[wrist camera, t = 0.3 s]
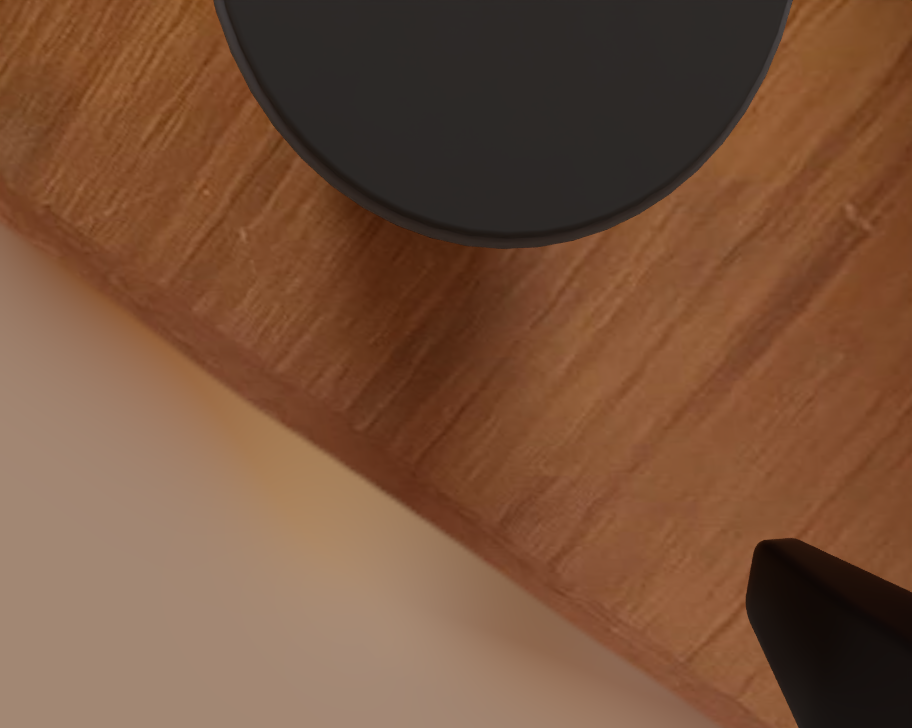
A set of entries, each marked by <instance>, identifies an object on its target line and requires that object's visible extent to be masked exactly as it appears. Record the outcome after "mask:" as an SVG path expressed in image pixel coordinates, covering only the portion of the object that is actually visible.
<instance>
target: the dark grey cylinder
mask: <svg viewBox="0 0 912 728" xmlns="http://www.w3.org/2000/svg"><path fill="white" fill-rule="evenodd" d="M213 1H214V5H215V9H216V12H217V15H218V18H219V21H220V23H221V26H222V29H223V32H224V34H225V37H226V40H227V43H228V45H229V48H230V51H231V53H232V55H233V57H234V59H235V61H236V63H237V65H238V67H239V69H240V71H241V73H242V75H243V77H244V79H245V81H246V83H247V85H248V87H249V89H250V91H251V93H252V94H253V96H254V97H255V99H256V100H257V102H258V103H259V105H260V106H261V108H262V109H263V111H264V112H265V114H266V115H267V117H268V118H269V120H270V121H271V123H272V124H273V126H274V127H275V128H276V129H277V131H278V132H279V133H280V134H281V135H282V136H283V138H284V139H285V140H286V141H287V142H288V143H289V144H290V146H291V147H292V148H293V149H294V150H295V151H296V153H297V154H298V155H299V156H300V157H301V158H302V159H303V160H304V161H305V162H306V163H307V164H308V165H309V166H310V167H312V168H313V169H314V170H315V171H316V172H317V173H318V174H319V175H320V176H321V177H323V178H324V179H325V180H326V181H327V182H328V183H329V184H330V185H331V186H333V187H334V188H336V189H337V190H339V191H340V192H341V193H343V194H344V195H346V196H347V197H349V198H350V199H351V200H353V201H354V202H356V203H357V204H359V205H360V206H361V207H363V208H365V209H367V210H369V211H370V212H372V213H374V214H376V215H378V216H380V217H382V218H384V219H386V220H388V221H390V222H391V223H393V224H395V225H398V226H400V227H403V228H406V229H408V230H411V231H414V232H417V233H419V234H422V235H425V236H427V237H430V238H434V239H438V240H443V241H447V242H452V243H456V244H461V245H465V246H475V247H487V248H498V249H510V248H530V247H541V246H547V245H552V244H558V243H563V242H568V241H573V240H576V239H579V238H583V237H586V236H589V235H592V234H595V233H598V232H601V231H604V230H607V229H609V228H611V227H613V226H615V225H617V224H619V223H621V222H624V221H626V220H628V219H630V218H632V217H634V216H636V215H638V214H640V213H641V212H643V211H645V210H646V209H648V208H649V207H651V206H652V205H654V204H655V203H657V202H658V201H660V200H662V199H663V198H665V197H666V196H668V195H669V194H670V193H672V192H673V191H674V190H675V189H676V188H678V187H679V186H680V185H681V184H682V183H683V182H685V181H686V180H687V179H688V178H689V177H691V176H692V175H693V174H694V173H695V172H697V171H698V170H699V168H700V167H701V166H702V165H703V164H704V163H705V162H706V161H707V160H708V159H709V158H710V157H711V156H712V154H713V153H714V152H715V151H716V150H717V149H718V148H719V147H720V146H721V145H722V144H723V142H724V141H725V140H726V138H727V137H728V136H729V134H730V133H731V131H732V130H733V129H734V127H735V126H736V125H737V123H738V122H739V120H740V119H741V118H742V116H743V115H744V114H745V112H746V110H747V109H748V107H749V105H750V103H751V101H752V100H753V98H754V96H755V94H756V93H757V91H758V89H759V87H760V85H761V84H762V82H763V80H764V78H765V77H766V74H767V72H768V70H769V67H770V65H771V62H772V60H773V58H774V55H775V53H776V51H777V48H778V46H779V43H780V41H781V38H782V35H783V32H784V28H785V25H786V21H787V18H788V15H789V11H790V8H791V4H792V1H793V0H213Z"/></svg>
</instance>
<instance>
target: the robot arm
mask: <svg viewBox="0 0 912 728" xmlns="http://www.w3.org/2000/svg"><path fill="white" fill-rule="evenodd" d="M746 610H747V615H748V618H749V621H750V623H751V625H752V628H753V630H754V632H755V634H756V636H757V638H758V641H759V643H760V645H761V647H762V649H763V651H764V654H765V656H766V658H767V660H768V662H769V664H770V667H771V669H772V671H773V673H774V675H775V677H776V680H777V682H778V684H779V686H780V688H781V690H782V693H783V695H784V697H785V699H786V701H787V703H788V706H789V708H790V710H791V712H792V714H793V716H794V718H795V721H796V723H797V725H798V727H799V728H912V592H910V591H908V590H906V589H903V588H901V587H899V586H897V585H895V584H893V583H891V582H888V581H886V580H884V579H882V578H880V577H878V576H876V575H873V574H871V573H869V572H867V571H865V570H863V569H861V568H858V567H856V566H854V565H852V564H850V563H848V562H846V561H843V560H841V559H839V558H837V557H835V556H833V555H831V554H828V553H826V552H824V551H822V550H820V549H818V548H816V547H813V546H811V545H809V544H807V543H805V542H803V541H801V540H798V539H794V538H785V539H772V540H763V541H761V542H759V543H758V544H757V546H756V547H755V550H754V553H753V559H752V564H751V570H750V576H749V582H748V587H747V593H746Z"/></svg>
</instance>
